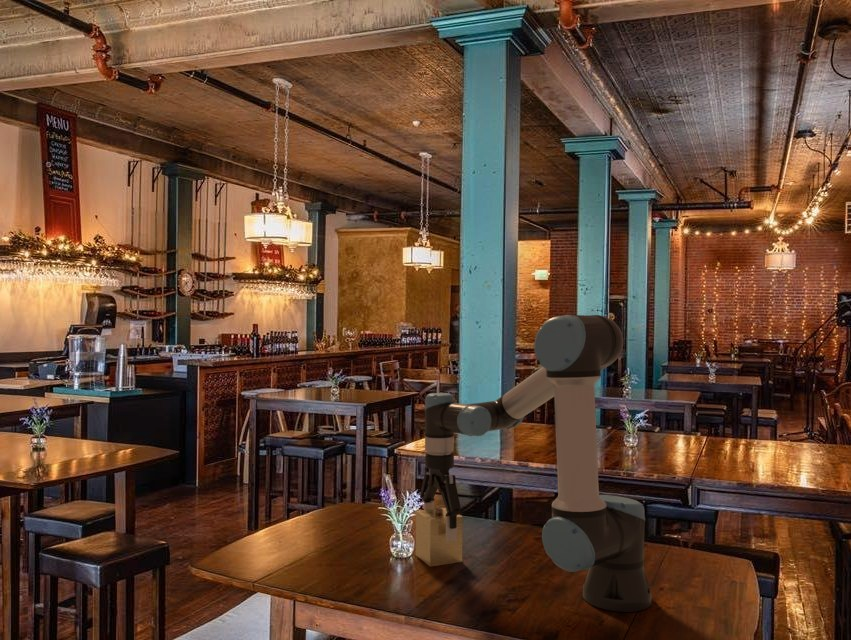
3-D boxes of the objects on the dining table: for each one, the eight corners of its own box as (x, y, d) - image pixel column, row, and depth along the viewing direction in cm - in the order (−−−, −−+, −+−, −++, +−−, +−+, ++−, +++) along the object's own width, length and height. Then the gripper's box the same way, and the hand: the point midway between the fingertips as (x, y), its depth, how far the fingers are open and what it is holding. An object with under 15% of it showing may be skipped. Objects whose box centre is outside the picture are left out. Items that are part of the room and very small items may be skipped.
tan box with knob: (462, 561, 192) (462, 511, 191) (430, 566, 188) (430, 515, 188) (446, 550, 200) (447, 503, 200) (415, 555, 196) (416, 506, 196)
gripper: (474, 459, 184) (475, 544, 184) (432, 443, 206) (432, 519, 207) (447, 462, 181) (447, 548, 181) (407, 445, 203) (408, 522, 203)
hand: (439, 533), depth 194 cm, fingers open, 13 cm apart
